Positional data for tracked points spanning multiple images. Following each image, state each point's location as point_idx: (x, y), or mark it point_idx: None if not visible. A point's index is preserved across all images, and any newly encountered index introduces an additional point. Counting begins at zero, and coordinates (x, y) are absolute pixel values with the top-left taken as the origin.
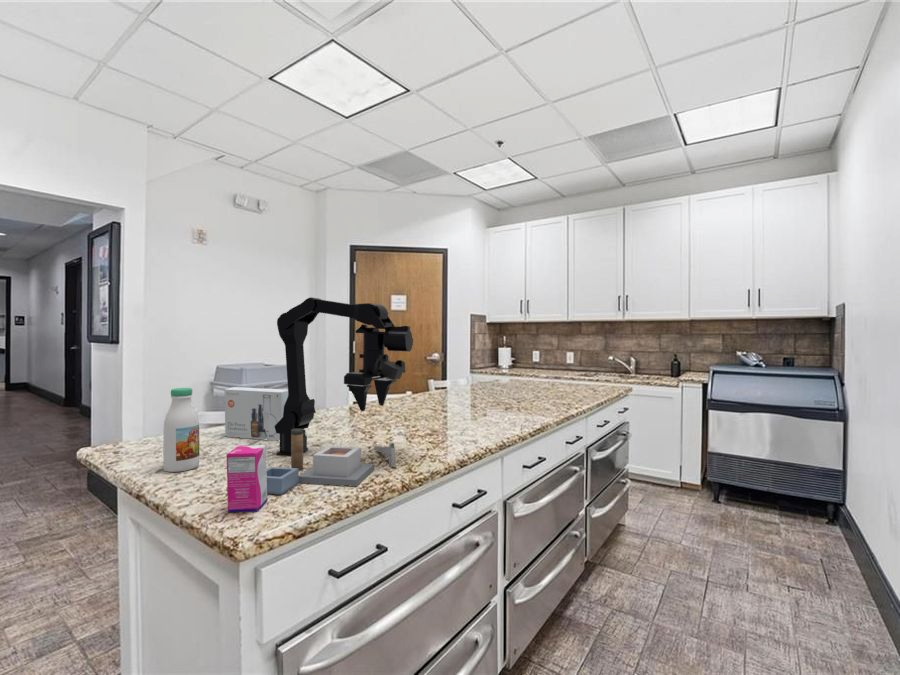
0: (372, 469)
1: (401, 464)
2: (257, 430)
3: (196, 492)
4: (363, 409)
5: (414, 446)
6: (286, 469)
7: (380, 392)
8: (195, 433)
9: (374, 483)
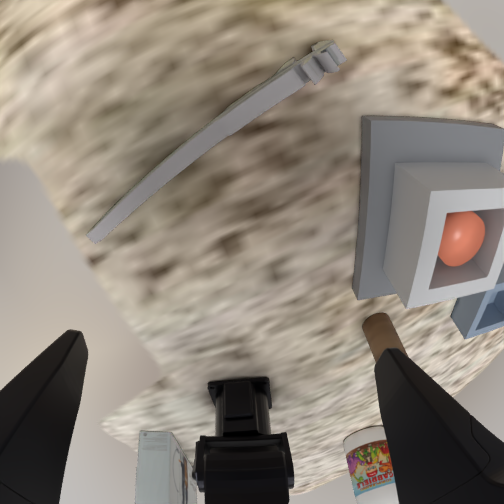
0: (381, 117)
1: (263, 33)
2: (184, 468)
3: (470, 362)
4: (404, 357)
5: (7, 114)
6: (486, 304)
7: (46, 455)
8: (382, 474)
9: (470, 79)
